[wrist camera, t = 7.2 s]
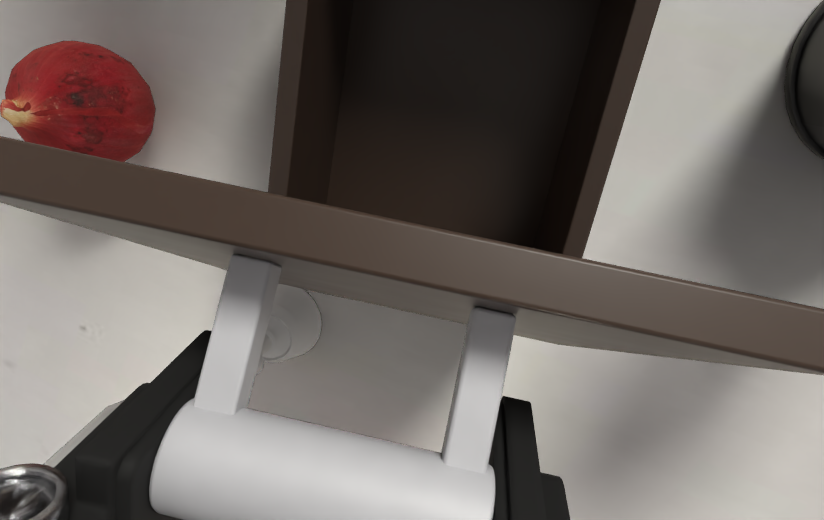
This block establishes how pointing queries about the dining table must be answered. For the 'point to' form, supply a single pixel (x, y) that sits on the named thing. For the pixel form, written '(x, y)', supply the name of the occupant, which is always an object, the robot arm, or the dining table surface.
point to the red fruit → (80, 101)
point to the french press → (808, 83)
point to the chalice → (285, 339)
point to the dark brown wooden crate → (458, 111)
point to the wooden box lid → (390, 287)
